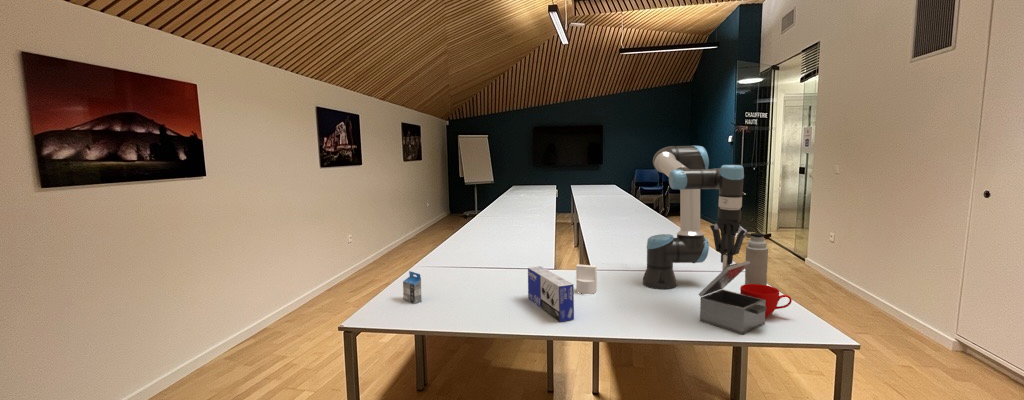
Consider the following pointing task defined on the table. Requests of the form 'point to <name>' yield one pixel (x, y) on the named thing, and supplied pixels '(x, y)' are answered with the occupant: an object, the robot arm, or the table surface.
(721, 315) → the grey rectangular box
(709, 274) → the table surface
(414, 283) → the label tape box
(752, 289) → the ceramic cup
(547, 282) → the ink box
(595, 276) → the base with upright slab
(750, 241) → the thermos bottle
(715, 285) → the lid
